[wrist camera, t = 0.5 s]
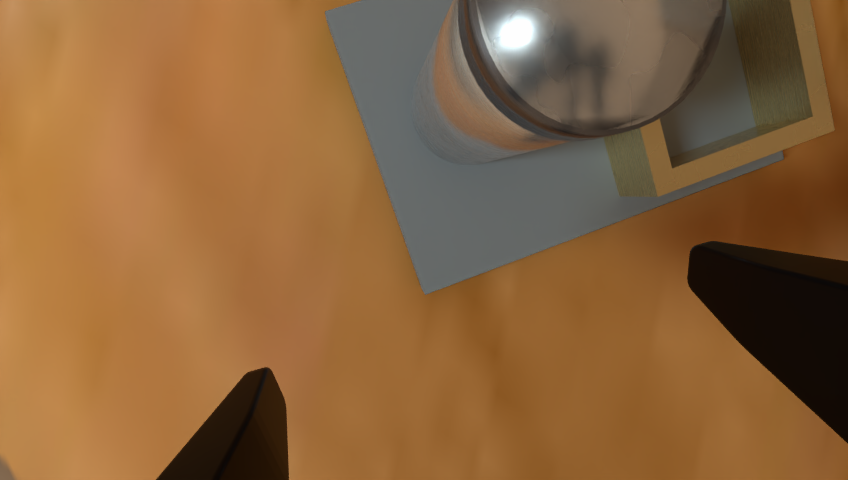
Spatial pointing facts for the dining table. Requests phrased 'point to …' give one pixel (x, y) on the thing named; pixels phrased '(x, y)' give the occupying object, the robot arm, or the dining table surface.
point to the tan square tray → (769, 96)
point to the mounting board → (512, 176)
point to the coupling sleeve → (557, 72)
